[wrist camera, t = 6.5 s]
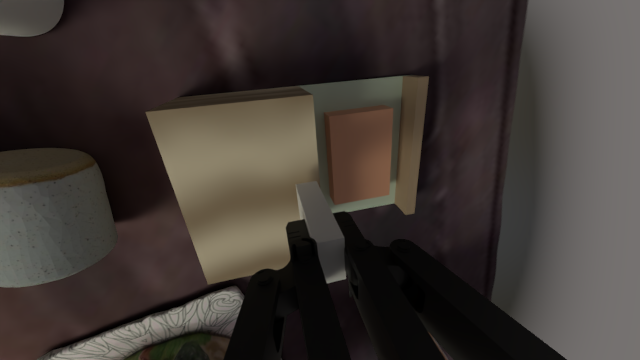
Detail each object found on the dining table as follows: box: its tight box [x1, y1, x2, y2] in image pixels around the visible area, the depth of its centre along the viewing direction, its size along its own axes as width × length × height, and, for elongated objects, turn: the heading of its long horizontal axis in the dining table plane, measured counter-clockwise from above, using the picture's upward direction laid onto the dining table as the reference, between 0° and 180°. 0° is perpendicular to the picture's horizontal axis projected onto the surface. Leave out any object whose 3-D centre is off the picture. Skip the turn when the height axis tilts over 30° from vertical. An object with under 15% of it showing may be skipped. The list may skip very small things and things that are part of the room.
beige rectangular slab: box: [146, 86, 320, 284], centre depth 22 cm, size 14×10×7 cm
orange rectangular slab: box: [324, 105, 393, 205], centre depth 25 cm, size 9×6×2 cm, turn 4°
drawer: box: [299, 75, 429, 215], centre depth 25 cm, size 14×11×3 cm
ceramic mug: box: [0, 148, 118, 287], centre depth 19 cm, size 11×8×8 cm
